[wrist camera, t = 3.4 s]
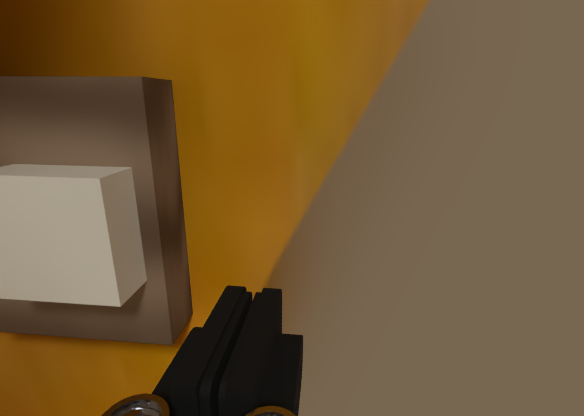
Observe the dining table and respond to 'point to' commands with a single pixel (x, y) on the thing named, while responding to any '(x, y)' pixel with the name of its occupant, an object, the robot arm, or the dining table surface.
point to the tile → (69, 234)
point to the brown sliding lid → (106, 153)
